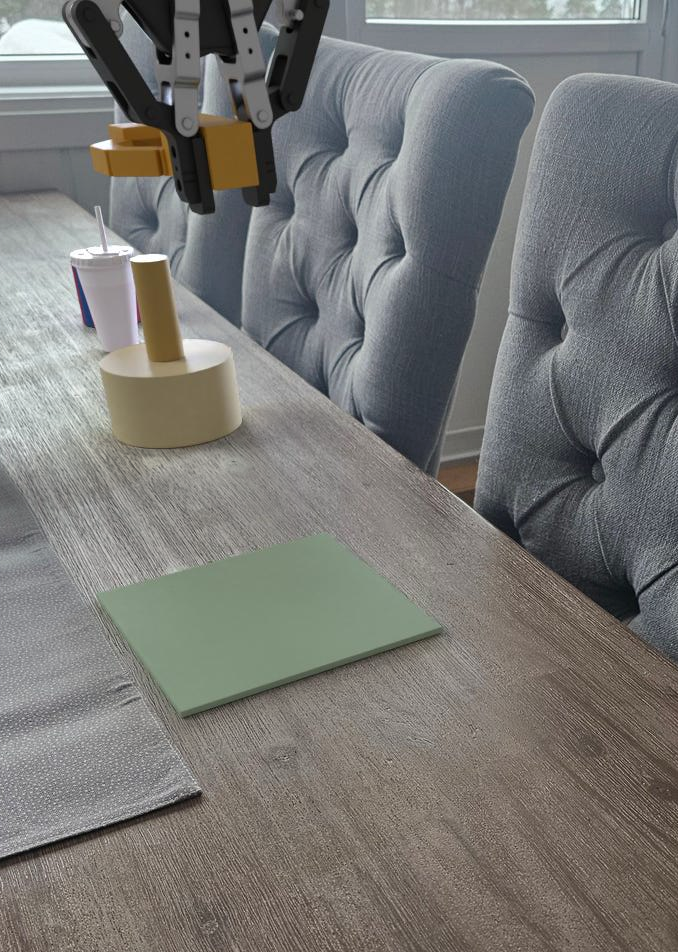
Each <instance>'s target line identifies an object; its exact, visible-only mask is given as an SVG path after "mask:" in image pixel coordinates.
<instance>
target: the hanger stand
mask: <svg viewBox="0 0 678 952" xmlns="http://www.w3.org/2000/svg"><path fill="white" fill-rule="evenodd" d="M130 263H131V268H132V274H133V279H134V284H135V290H136V295H137V301H138V306H139V312H140V317H141V321H140V322H141V327H142V333H143V339H144V342H141V343H139V344H135V345H131V346H128V347H124V348H121V349H118V350H116V351H114V352H109V353H108V354H106V355H105V356H103V357H102V358H100V361H99V363H98V366H99V371H100V377H101V381H102V386H103V390H104V395H105V401H106V404H107V410H108V415H109V419H110V425H111V429H112V434H113V436H114V437H115V439H116V440H117V441H119V442H121V443H123V444H124V445H128V446H133V447H138V448H145V449H174V448H184V447H192V446H196V445H201V444H206V443H208V442H212V441H216V440H218V439H222V438H224V437H226V436H228V435H230V434H231V433H233V432H235V431H236V430H237V429H239V427H240V426H241V425H242V423H243V415H242V407H241V401H240V395H239V388H238V387H239V386H238V380H237V372H236V367H235V359H234V352H233V349H232V348H231V347H230V346H229V345H227V344H225V343H222V342H219V341H214V340H211V339H201V338H183V337H182V331H181V325H180V320H179V314H178V307H177V300H176V296H175V295H176V294H175V288H174V283H173V278H172V276H173V275H172V271H171V264H170V260H169V256H168V255H166V254H163V253H162V254H161V253H148V254H141V255H135V257H133V258H131V259H130Z"/></svg>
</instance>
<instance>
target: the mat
mask: <svg viewBox="0 0 678 952" xmlns="http://www.w3.org/2000/svg"><path fill="white" fill-rule="evenodd" d="M95 596H96V599H97V601H98V603H99V604H100V605H101V606H102V608H103V610H104V611H105V612H106V614H107V615H108V616H109V618H110V619H111V620H112V622H113V624H114V625H115V627H116V628H117V629H118V631H119V632H120V633H121V635H122V636H123V637H124V639H125V640H126V642H127V644H128V645H129V646H130V647H131V649H132V651H133V652H134V653H135V655H136V656H137V657H138V659H139V660H140V661H141V663H142V664H143V665H144V667H145V669H146V670H147V671H148V673H149V674H150V676H151V677H152V679H153V680H154V681H155V683H156V684H157V685H158V687H159V688H160V689H161V691H162V693H163V694H164V695H165V697H166V698H167V699H168V701H169V703H170V704H171V705H172V707H173V708H174V709H175V711H176V712H177V713H178V714H179V716H180V718H181V719H183V718H186V717H189V716H193V715H195V714H198V713H201V712H205V711H207V710H211V709H214V708H216V707H220V706H223V705H225V704H229V703H231V702H235V701H238V700H241V699H244V698H247V697H250V696H253V695H257V694H259V693H263V692H265V691H268V690H272V689H274V688H277V687H280V686H283V685H287V684H289V683H292V682H295V681H299V680H301V679H305V678H308V677H311V676H315V675H317V674H320V673H323V672H326V671H329V670H333V669H336V668H339V667H342V666H345V665H347V664H350V663H351V664H352V663H353V662H357V661H360V660H362V659H365V658H368V657H372V656H375V655H377V654H381V653H383V652H386V651H390V650H393V649H396V648H399V647H402V646H405V645H408V644H412V643H414V642H417V641H420V640H423V639H428V638H429V637H432V636H436V635H438V634H442V633H443V626H442V625H440V624H439V623H438V622H437V621H436V620H434V619H433V618H432V617H431V616H430V615H428V614H427V613H426V612H424V611H423V610H422V609H421V608H420V607H418V606H417V605H416V604H415V603H414V602H412V601H411V600H410V599H409V598H407V597H406V596H405V595H404V594H403V593H401V592H400V591H399V590H398V589H396V588H395V587H394V586H393V585H391V583H389V582H388V581H387V580H386V579H385V578H383V577H382V576H380V574H378V573H377V572H376V571H375V570H373V569H372V568H371V567H370V566H368V564H366V563H365V562H364V561H363V560H362V559H360V558H359V557H358V556H356V555H355V554H354V553H353V552H351V551H350V550H349V549H348V548H347V547H345V546H344V545H343V544H342V543H340V541H338V540H337V539H335V537H333V536H332V535H331V534H329V533H328V532H327V531H324V532H320V533H316V534H312V535H309V536H305V537H301V538H297V539H293V540H289V541H287V542H283V543H279V544H275V545H272V546H268V547H264V548H260V549H256V550H253V551H249V552H246V553H241V554H238V555H234V556H231V557H226V558H223V559H220V560H215V561H213V562H209V563H205V564H201V565H197V566H194V567H189V568H186V569H182V570H179V571H175V572H171V573H167V574H164V575H160V576H156V577H152V578H149V579H145V580H141V581H137V582H134V583H130V584H127V585H124V586H123V585H122V586H119V587H116V588H112V589H108V590H105V591H100V592H96V593H95Z"/></svg>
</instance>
